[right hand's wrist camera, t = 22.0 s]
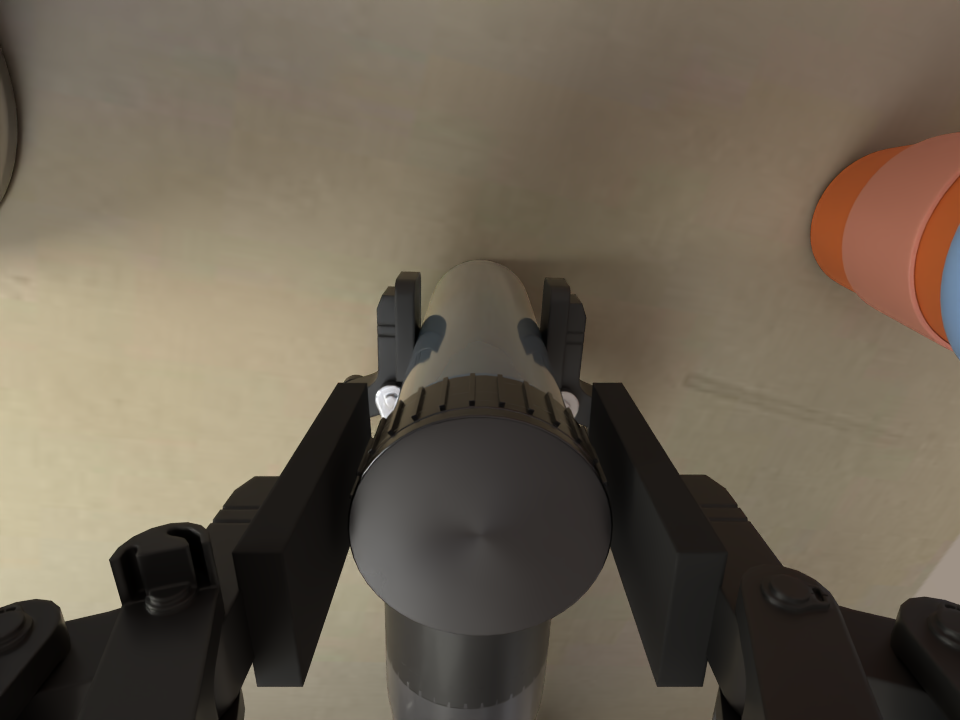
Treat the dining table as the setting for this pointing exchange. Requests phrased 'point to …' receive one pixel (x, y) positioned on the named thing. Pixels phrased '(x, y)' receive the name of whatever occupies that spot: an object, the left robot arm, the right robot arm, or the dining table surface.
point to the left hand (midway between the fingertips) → (482, 280)
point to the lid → (480, 507)
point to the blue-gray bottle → (480, 332)
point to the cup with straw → (898, 235)
